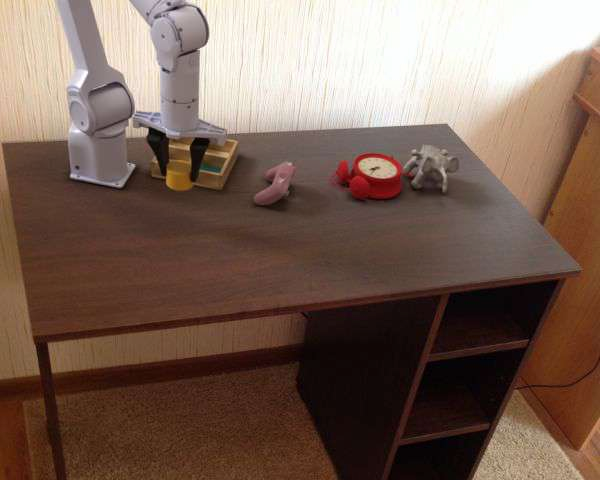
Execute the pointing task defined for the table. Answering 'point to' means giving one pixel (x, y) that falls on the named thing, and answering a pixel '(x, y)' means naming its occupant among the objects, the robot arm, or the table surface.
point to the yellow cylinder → (178, 175)
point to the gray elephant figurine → (431, 166)
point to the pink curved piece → (276, 184)
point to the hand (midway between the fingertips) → (179, 175)
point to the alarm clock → (371, 176)
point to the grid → (203, 161)
